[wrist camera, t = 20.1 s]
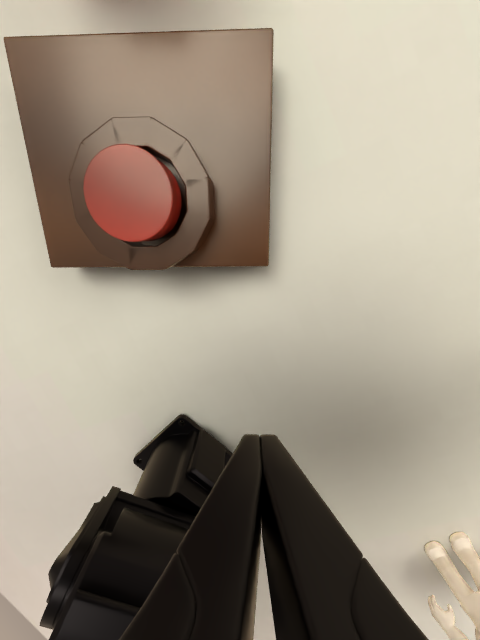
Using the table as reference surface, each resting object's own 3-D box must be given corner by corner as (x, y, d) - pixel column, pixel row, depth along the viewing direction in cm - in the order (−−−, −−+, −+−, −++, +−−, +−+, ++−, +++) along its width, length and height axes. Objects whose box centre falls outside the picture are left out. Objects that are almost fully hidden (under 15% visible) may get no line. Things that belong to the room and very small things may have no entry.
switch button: (184, 240, 14) (176, 241, 13) (109, 241, 15) (91, 242, 13) (178, 154, 13) (168, 142, 12) (96, 155, 13) (75, 144, 12)
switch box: (265, 262, 19) (271, 270, 14) (77, 263, 19) (27, 271, 15) (269, 61, 15) (277, -6, 11) (42, 68, 16) (-35, 6, 12)
